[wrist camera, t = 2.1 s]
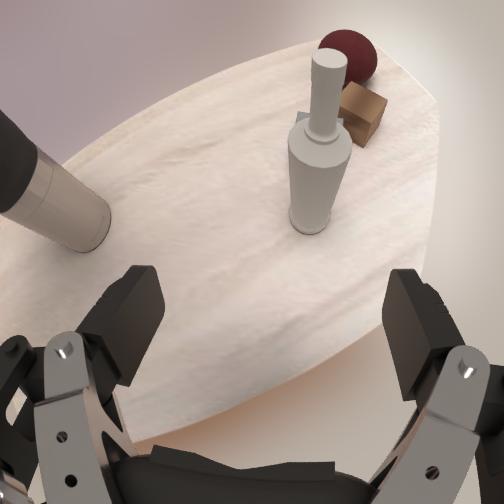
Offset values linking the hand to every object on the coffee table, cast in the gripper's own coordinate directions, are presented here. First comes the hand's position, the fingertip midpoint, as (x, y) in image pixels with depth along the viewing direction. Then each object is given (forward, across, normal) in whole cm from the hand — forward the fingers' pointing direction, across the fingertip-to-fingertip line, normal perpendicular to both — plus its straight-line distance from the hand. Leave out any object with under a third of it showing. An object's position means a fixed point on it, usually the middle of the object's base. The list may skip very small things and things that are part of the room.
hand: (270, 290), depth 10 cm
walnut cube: (+38, -11, -2) cm, 40 cm away
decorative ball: (+47, -11, -10) cm, 49 cm away
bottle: (+28, -3, +9) cm, 29 cm away
